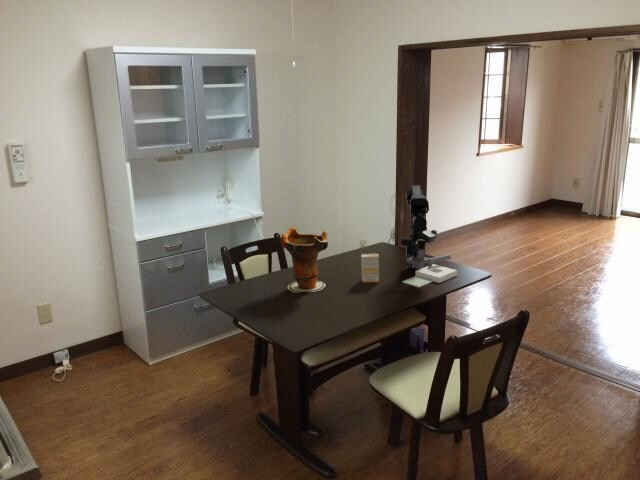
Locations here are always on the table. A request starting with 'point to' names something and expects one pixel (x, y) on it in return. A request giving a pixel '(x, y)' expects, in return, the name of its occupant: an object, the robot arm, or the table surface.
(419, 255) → the plug
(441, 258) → the bar
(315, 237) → the decorative vase
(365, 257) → the supplement box
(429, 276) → the socket block
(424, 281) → the pad
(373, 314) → the table surface
